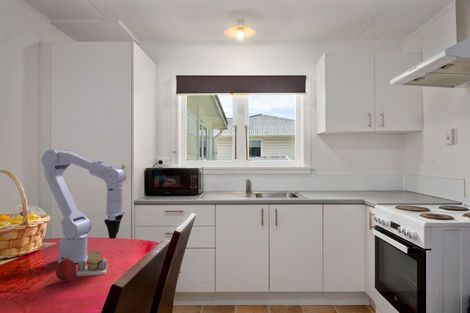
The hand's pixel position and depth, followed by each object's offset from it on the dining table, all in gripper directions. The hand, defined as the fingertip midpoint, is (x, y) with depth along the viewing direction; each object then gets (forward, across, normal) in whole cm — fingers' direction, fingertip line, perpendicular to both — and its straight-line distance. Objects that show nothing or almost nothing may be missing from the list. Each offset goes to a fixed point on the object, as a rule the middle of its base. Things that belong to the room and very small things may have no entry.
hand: (113, 235), depth 120 cm
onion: (+11, -16, +13) cm, 23 cm away
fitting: (+10, -8, +6) cm, 14 cm away
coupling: (+10, -8, +6) cm, 14 cm away
